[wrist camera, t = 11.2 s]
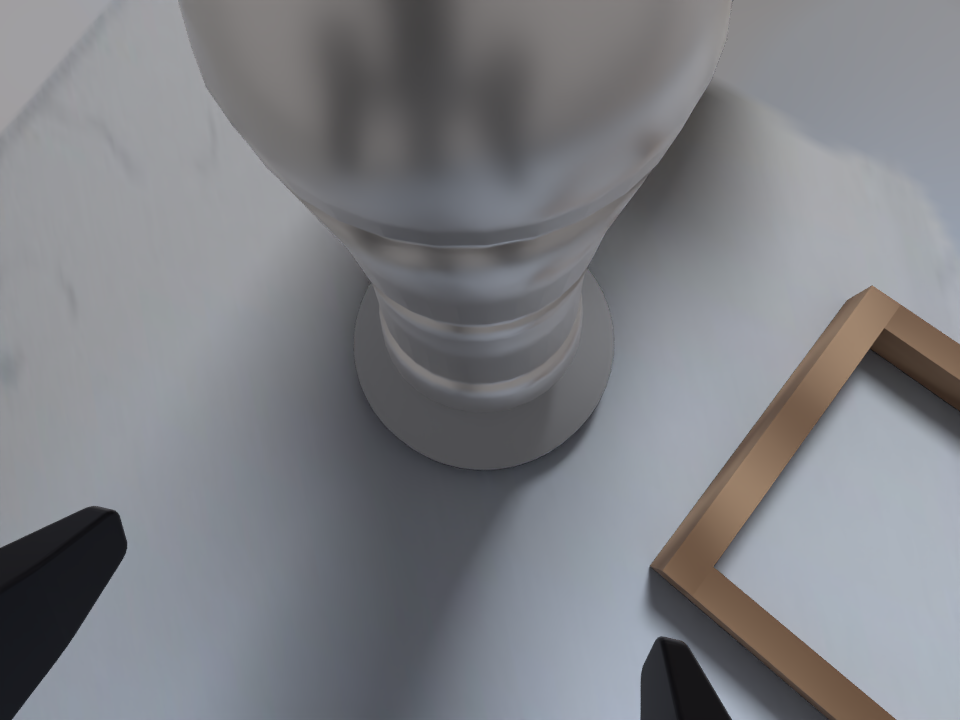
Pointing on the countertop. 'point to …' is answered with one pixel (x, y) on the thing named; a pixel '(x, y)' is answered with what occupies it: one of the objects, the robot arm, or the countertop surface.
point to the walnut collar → (764, 456)
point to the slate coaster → (487, 434)
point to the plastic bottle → (463, 154)
